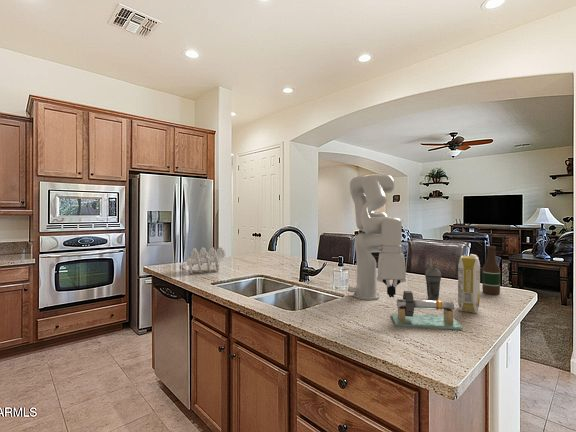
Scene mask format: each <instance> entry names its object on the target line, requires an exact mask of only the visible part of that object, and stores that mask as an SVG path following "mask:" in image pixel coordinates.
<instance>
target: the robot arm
mask: <svg viewBox="0 0 576 432" xmlns="http://www.w3.org/2000/svg"><path fill="white" fill-rule="evenodd" d="M394 189H395V181H394V178H393V177H392V176H391V175H389V174H370V175H366V176H365V175H361V176H360V175H359V176H354V177H352V178H351V179H350V182H349V193H350V195H351V199H352V201H353V204H354V212H355V214H354V215H355V223H356V227H357V229H358V230H359V231H364V232H362V233H358V234H356V235H355V238H354V247H355V253H356V254H355V255H356V285H355V286H354V287H347V292H350V293H353V297H354V298H355V299H360V300H365V301H367V300H368V301H373V300H377V299H380V296H381V295H380V293H378V292H377V281H378V282H380V283H383V284H384V285H385V286H386V295H388V297H389V298H395V296H396V293H397V292H396V291H397V290H396V289H397V288H396V287H397V286H399V284H402V283H406V282H407V278H406V276H407V274H406V273H407V270H406V259H405V254H404V253H403V252H402V249H403V248H402V247H403V246H402V229H403V228H402V227H403V226H402V220H401V219H400V218H398V217H394V216H388V215H387V213H385V212H384V211H377V210H379V209H382V207H384V206H385V204H387V196H386V194H390V193H392V192H393V191H394ZM372 253H379V254H378V261H377V260H376V258H375V257H374V255H373V254H372ZM391 280H392V284H391V282H390V281H391Z"/></svg>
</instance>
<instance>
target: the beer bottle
mask: <svg viewBox="0 0 576 432" xmlns="http://www.w3.org/2000/svg"><path fill="white" fill-rule="evenodd" d="M496 249H497V248H496V246H494V245H489V246H487V255H486V256H487V257H486V258H487V259H486V262H485V263H484V264H483V266H482V293H484V294H486V295H491V296H492V295H494V296H496V295H497V296H498V295H500V293H501V268H500V265H499V264H498V262H497V257H496V255H497V254H496Z"/></svg>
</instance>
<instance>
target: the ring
mask: <svg viewBox="0 0 576 432" xmlns="http://www.w3.org/2000/svg"><path fill="white" fill-rule="evenodd" d="M402 299H405V301H406V307H404V308H405V316H411V317H412V316H413V314H415V308H414V300H415V299H414V294H413V292H412V290H403V294H402Z"/></svg>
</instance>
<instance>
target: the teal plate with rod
mask: <svg viewBox="0 0 576 432" xmlns="http://www.w3.org/2000/svg"><path fill="white" fill-rule="evenodd" d="M396 306H397V307H396V308H397V313H394V312H391V315H390V316H391V318H392V321H393V324H394V326H395V327H401V328H404V327H405V328H417V329H418V328H419V329H420V328H421V329H422V328H423V329H433V330H434V329H435V330H453V331H454V330H455V331H463V329H464V328H463V326H462V325H461V324H460V323H459V322H458V321H457V320H456V319H455V318H454V309H455V303H454V301H453V300H452V301H449V300H448V301H447V300H441V299H438V300H436V301H431V300H428V299H426V300H424V299H414V309H428V310H429V309H430V310H437V311H438V310H439V311H441V310H443V315H434V314H433V315H432V314H417V313H416V314H415V313H414V314H413V316H412V317H411V316H405V308H404V307H406V301H405V299H403V298H402V299H401V298H397V299H396Z"/></svg>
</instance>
